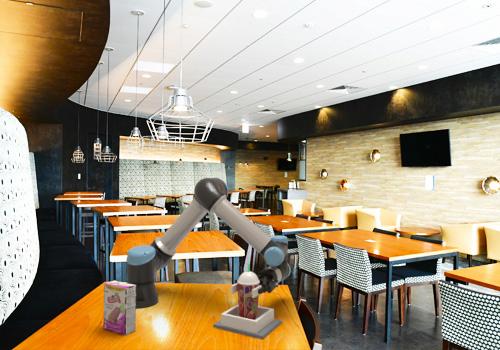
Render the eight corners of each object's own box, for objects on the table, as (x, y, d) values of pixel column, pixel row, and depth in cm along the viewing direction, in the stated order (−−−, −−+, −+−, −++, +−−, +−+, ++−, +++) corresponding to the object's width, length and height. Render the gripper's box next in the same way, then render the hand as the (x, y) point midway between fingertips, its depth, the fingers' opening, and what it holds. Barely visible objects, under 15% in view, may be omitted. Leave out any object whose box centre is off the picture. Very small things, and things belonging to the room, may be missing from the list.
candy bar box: (102, 329, 129) (103, 283, 129) (113, 324, 133) (114, 279, 134) (125, 336, 124) (126, 288, 124) (136, 331, 128) (136, 284, 128)
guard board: (213, 327, 132) (213, 313, 132) (235, 313, 146) (235, 300, 147) (262, 339, 123) (262, 324, 123) (281, 323, 137) (281, 309, 137)
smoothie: (257, 323, 130) (257, 267, 130) (234, 321, 131) (235, 266, 132) (261, 315, 138) (261, 262, 138) (239, 313, 140) (240, 261, 140)
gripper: (292, 290, 146) (268, 307, 126) (247, 282, 156) (217, 297, 136) (293, 271, 146) (268, 285, 126) (247, 265, 156) (217, 277, 136)
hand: (242, 291), depth 131 cm, fingers closed on smoothie, 8 cm apart
